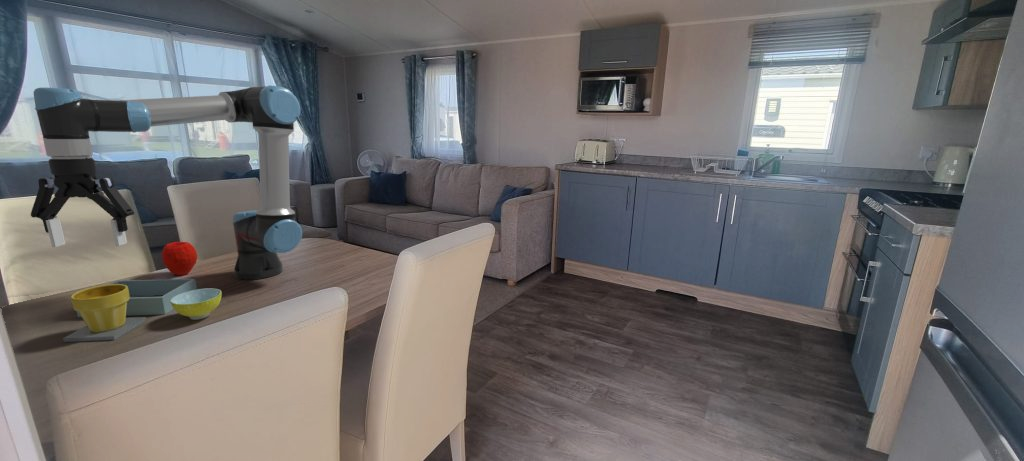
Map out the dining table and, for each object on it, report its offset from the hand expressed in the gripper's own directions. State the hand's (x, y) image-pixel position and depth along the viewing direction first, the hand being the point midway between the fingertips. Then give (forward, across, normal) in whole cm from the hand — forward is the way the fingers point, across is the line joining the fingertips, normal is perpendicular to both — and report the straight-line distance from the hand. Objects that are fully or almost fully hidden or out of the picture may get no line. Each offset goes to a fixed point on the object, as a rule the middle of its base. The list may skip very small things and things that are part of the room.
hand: (90, 245), depth 103 cm
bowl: (+23, -18, -6) cm, 30 cm away
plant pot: (+22, 0, 0) cm, 22 cm away
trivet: (+23, 0, +1) cm, 23 cm away
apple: (+23, +8, -44) cm, 51 cm away
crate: (+23, +3, -16) cm, 28 cm away
